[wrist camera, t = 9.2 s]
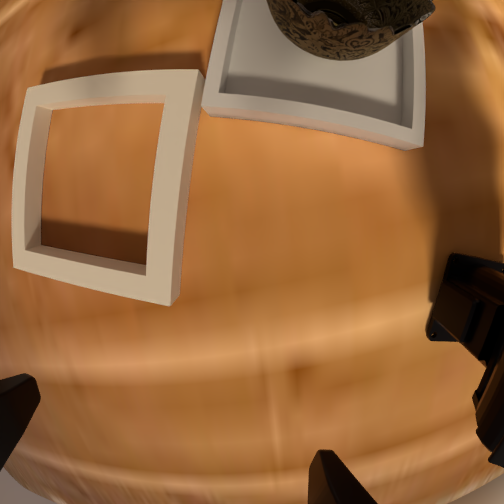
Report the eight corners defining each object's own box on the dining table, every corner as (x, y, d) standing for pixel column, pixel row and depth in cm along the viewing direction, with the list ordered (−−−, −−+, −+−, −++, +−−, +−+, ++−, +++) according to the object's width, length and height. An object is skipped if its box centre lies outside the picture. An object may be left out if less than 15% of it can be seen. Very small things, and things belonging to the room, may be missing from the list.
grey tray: (405, 4, 13) (417, -12, 11) (405, 150, 16) (423, 146, 14) (240, -28, 14) (236, -48, 11) (210, 116, 16) (201, 105, 14)
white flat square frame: (205, 80, 16) (198, 69, 14) (179, 294, 19) (170, 306, 17) (43, 92, 16) (27, 88, 14) (29, 261, 19) (13, 267, 17)
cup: (254, -2, 14) (243, -86, 6) (363, -3, 13) (400, -74, 5) (271, 95, 15) (271, 25, 7) (392, 91, 15) (461, 40, 7)
